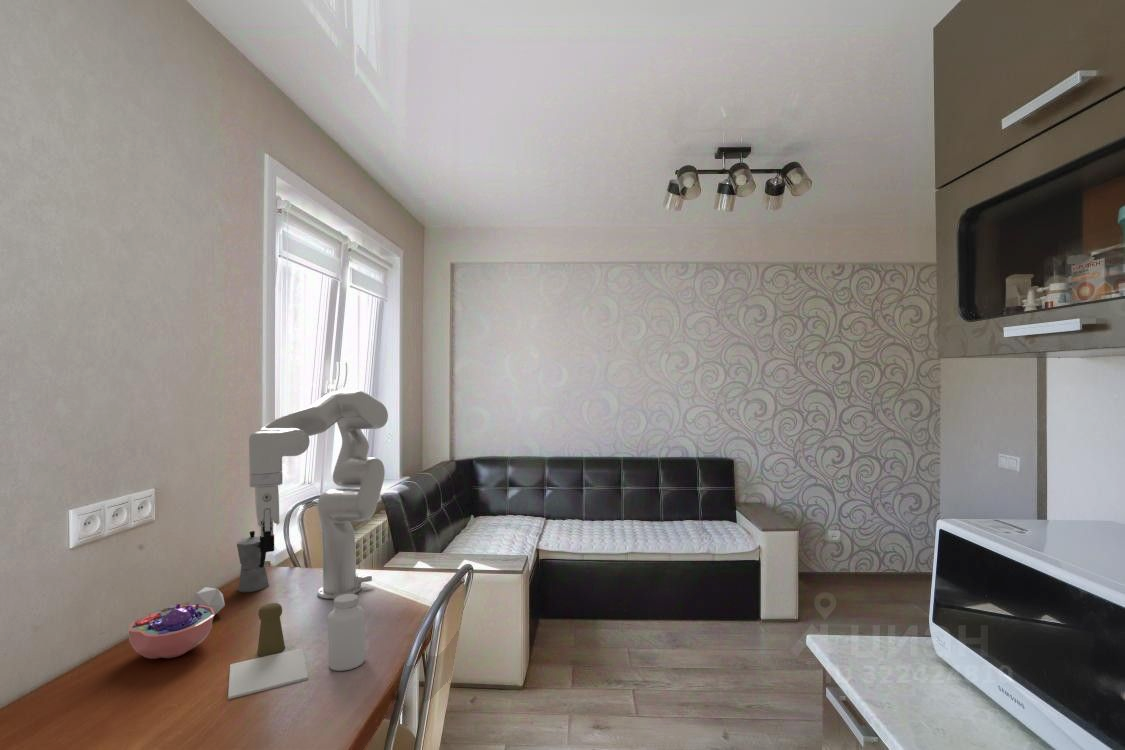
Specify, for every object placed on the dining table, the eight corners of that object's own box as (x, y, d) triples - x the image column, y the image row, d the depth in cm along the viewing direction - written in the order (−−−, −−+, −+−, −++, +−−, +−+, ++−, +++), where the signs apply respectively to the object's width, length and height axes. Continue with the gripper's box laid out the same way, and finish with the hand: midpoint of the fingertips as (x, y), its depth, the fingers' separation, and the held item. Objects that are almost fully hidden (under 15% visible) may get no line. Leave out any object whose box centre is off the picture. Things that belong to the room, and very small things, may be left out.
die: (232, 616, 162) (228, 583, 167) (213, 611, 155) (210, 577, 160) (203, 628, 162) (201, 595, 166) (183, 624, 154) (181, 590, 159)
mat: (301, 650, 139) (301, 648, 139) (307, 679, 125) (307, 676, 125) (230, 666, 131) (230, 664, 131) (228, 699, 117) (228, 696, 117)
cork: (263, 645, 142) (262, 600, 142) (289, 643, 142) (288, 599, 142) (252, 657, 136) (251, 610, 136) (279, 655, 136) (278, 608, 136)
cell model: (202, 629, 152) (201, 586, 153) (223, 653, 138) (222, 606, 138) (122, 651, 141) (122, 605, 141) (136, 680, 126) (135, 629, 126)
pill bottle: (372, 657, 134) (371, 593, 134) (349, 674, 126) (347, 606, 126) (345, 653, 136) (343, 589, 136) (320, 669, 129) (318, 602, 129)
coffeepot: (229, 587, 184) (227, 531, 184) (259, 579, 192) (258, 525, 192) (250, 597, 175) (248, 538, 175) (281, 588, 182) (279, 531, 182)
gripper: (283, 481, 142) (285, 556, 142) (280, 474, 156) (282, 542, 155) (249, 484, 139) (250, 561, 138) (249, 477, 152) (250, 546, 152)
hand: (267, 551), depth 147 cm, fingers closed
